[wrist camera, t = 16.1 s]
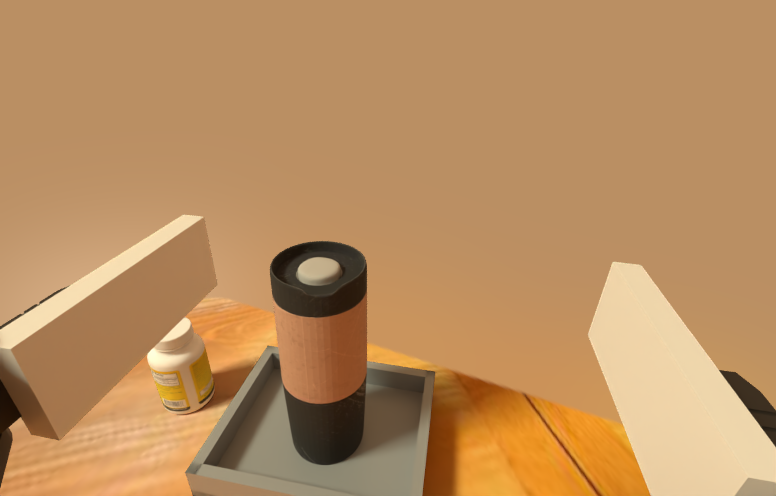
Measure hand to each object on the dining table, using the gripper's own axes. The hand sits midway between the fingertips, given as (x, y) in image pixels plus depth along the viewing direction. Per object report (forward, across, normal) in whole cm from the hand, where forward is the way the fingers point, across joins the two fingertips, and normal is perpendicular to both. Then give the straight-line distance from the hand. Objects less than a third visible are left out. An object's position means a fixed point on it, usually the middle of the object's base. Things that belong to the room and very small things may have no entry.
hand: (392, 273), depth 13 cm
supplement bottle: (+17, -25, -30) cm, 43 cm away
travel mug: (+15, -8, -29) cm, 34 cm away
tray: (+15, -8, -30) cm, 34 cm away
